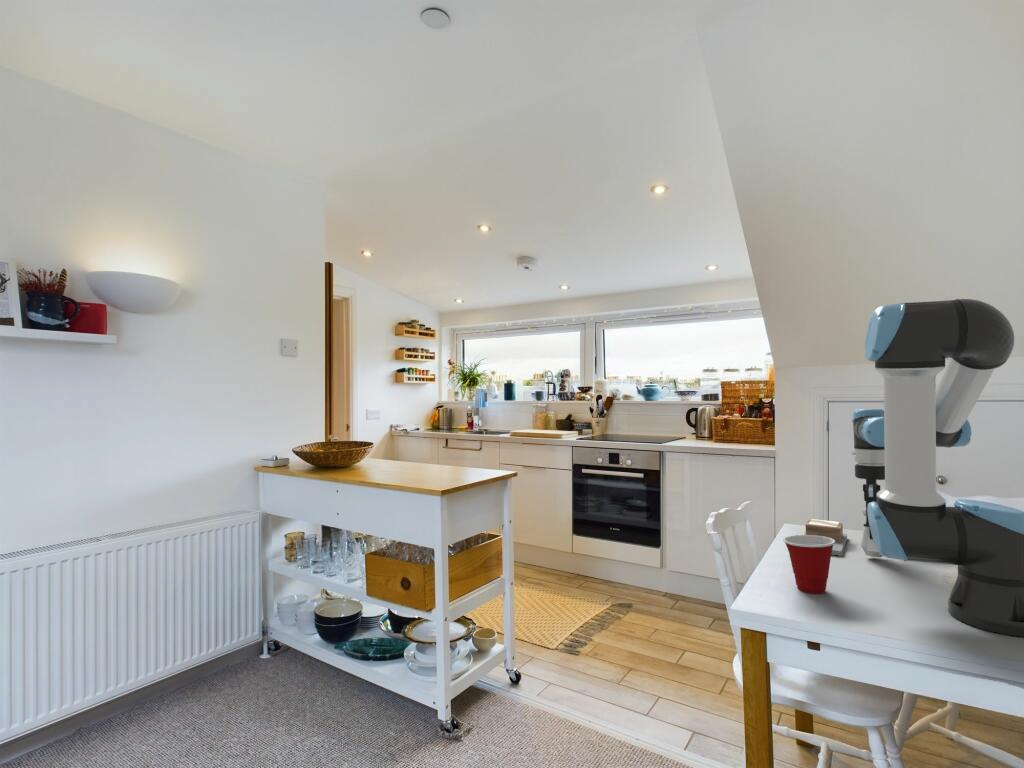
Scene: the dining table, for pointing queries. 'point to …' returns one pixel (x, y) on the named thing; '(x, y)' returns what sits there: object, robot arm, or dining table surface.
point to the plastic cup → (810, 561)
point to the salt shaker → (864, 541)
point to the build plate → (838, 546)
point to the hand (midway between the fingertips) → (873, 548)
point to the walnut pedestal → (825, 529)
